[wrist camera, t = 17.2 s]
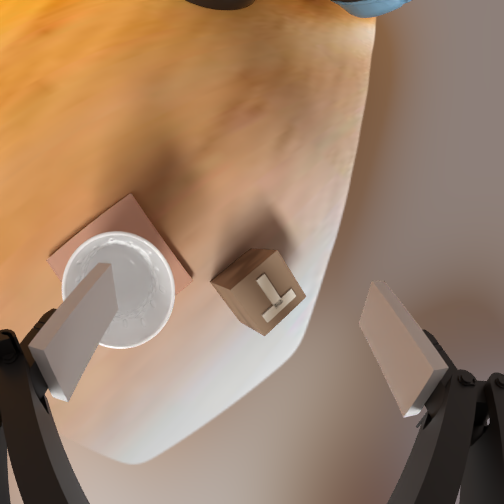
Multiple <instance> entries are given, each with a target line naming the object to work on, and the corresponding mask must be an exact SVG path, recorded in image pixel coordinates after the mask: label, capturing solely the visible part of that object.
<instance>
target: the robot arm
mask: <svg viewBox="0 0 504 504" xmlns="http://www.w3.org/2000/svg"><path fill="white" fill-rule="evenodd" d="M186 1H189V2H191V3H193V4H196V5H199V6H203V7H207V8H211V9H218V10H235V9H241V8H244V7H247V6H249V5H251V4H252V3H253V2H254V1H255V0H186ZM331 1H332V2H334V3H336V4H338V5H340V6H341V7H342V8H343V9H345V10H346V11H347V12H348V13H350V14H351V15H354V16H357V17H360V18H370V17H375V16H379V15H382V14H385V13H388V12H390V11H393V10H395V9H397V8H399V7H401V6H402V5H403V4H404V3H407V2H410V1H412V0H331ZM118 310H119V309H118V304H117V298H116V291H115V285H114V278H113V271H112V264H110V263H98V264H97V265H96V266H95V267H94V268H93V269H92V270H91V271H90V272H89V273H88V274H87V275H86V277H85V278H84V279H83V280H82V281H81V282H80V283H79V284H78V285H77V287H76V288H75V289H74V290H73V291H72V292H71V293H70V295H69V296H68V297H67V298H66V299H65V300H64V302H63V303H62V304H61V305H60V306H59V307H58V309H54V308H53V309H51V310H50V311H48V312H47V313H45V314H44V315H43V316H42V317H41V318H40V320H39V321H38V323H36V324H35V326H34V328H32V329H31V331H30V332H29V333H28V334H27V335H26V337H25V338H24V339H23V341H22V342H21V343H20V344H19V342H18V339H17V337H16V335H15V332H13V331H12V330H8V329H4V330H0V504H11V503H10V495H9V484H8V468H7V449H8V453H9V457H10V461H11V465H12V468H13V472H14V475H15V479H16V482H17V485H18V488H19V491H20V494H21V497H22V500H23V502H24V504H90V503H89V502H88V500H87V498H86V496H85V494H84V492H83V490H82V489H81V486H80V484H79V482H78V480H77V478H76V476H75V473H74V471H73V469H72V467H71V464H70V463H69V460H68V458H67V455H66V453H65V450H64V448H63V445H62V443H61V440H60V437H59V434H58V431H57V429H56V426H55V423H54V420H53V417H52V413H51V410H50V407H49V404H48V400H47V398H46V396H45V392H46V391H47V389H49V390H50V392H51V394H52V396H53V397H54V398H57V399H60V400H63V401H66V402H69V400H70V398H71V396H72V394H73V392H74V390H75V388H76V386H77V384H78V382H79V380H80V378H81V376H82V374H83V372H84V370H85V368H86V366H87V364H88V363H89V361H90V359H91V357H92V355H93V353H94V352H95V350H96V348H97V346H98V344H99V343H100V341H101V339H102V337H103V335H104V334H105V332H106V330H107V328H108V327H109V325H110V323H111V322H112V320H113V318H114V316H115V315H116V313H117V311H118ZM359 326H360V328H361V330H362V332H363V334H364V336H365V338H366V340H367V342H368V344H369V346H370V348H371V350H372V352H373V354H374V356H375V358H376V360H377V362H378V364H379V366H380V368H381V370H382V372H383V374H384V376H385V378H386V381H387V383H388V385H389V387H390V389H391V391H392V393H393V395H394V398H395V400H396V402H397V404H398V406H399V409H400V411H401V413H402V415H403V417H408V416H412V415H417V414H418V413H419V412H420V411H421V409H422V408H423V406H424V405H425V406H426V408H427V410H428V411H427V412H426V414H425V415H424V417H423V418H422V419H421V421H420V422H419V423H418V424H417V426H416V427H417V428H418V427H419V426H420V425H421V427H420V429H419V433H418V435H417V438H416V441H415V443H414V446H413V448H412V451H411V454H410V456H409V458H408V461H407V463H406V465H405V468H404V470H403V472H402V474H401V477H400V479H399V481H398V483H397V485H396V487H395V489H394V491H393V493H392V495H391V497H390V499H389V501H388V503H387V504H455V502H456V498H457V495H458V492H459V489H460V485H461V489H460V503H459V504H504V375H503V374H501V373H493V374H491V376H490V377H489V379H488V380H487V381H477V380H476V378H475V377H474V376H473V375H472V374H471V373H469V372H468V371H466V370H457V368H456V367H455V366H454V364H453V363H452V361H451V360H450V358H449V357H448V356H447V354H446V353H445V351H443V349H442V347H441V346H440V345H439V343H438V342H437V340H436V339H435V338H434V336H433V335H432V334H430V333H429V332H427V331H426V330H422V329H421V328H420V326H419V325H418V324H417V322H416V321H415V320H414V319H413V317H412V316H411V314H410V313H409V312H408V310H407V309H406V308H405V307H404V305H403V304H402V303H401V302H400V300H399V299H398V298H397V296H396V295H395V294H394V293H393V291H392V290H391V289H390V288H389V286H388V285H387V284H386V283H385V281H372V282H371V285H370V289H369V292H368V295H367V299H366V302H365V305H364V308H363V311H362V315H361V318H360V321H359ZM489 418H490V424H489V425H487V419H489Z"/></svg>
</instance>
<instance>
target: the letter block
mask: <svg viewBox="0 0 504 504" xmlns="http://www.w3.org/2000/svg"><path fill="white" fill-rule="evenodd" d="M211 284H212V285H213V286H214V288H215V289H216V290H217V292H218V293H219V294H220V296H221V297H222V298H223V300H224V301H225V302H226V304H227V305H228V306H229V308H230V309H231V310H232V312H233V313H234V314H235V316H236V317H237V318H238V320H239V321H240V322H241V323H243V324H245V325H246V326H248V327H250V328H252V329H253V330H255V331H257V332H258V333H260V334H262V335H264V336H265V335H266V334H268V333H269V332H270V331H271V330H272V329H273V328H274V327H275V326H276V325H277V324H278V323H279V322H280V321H281V320H282V319H284V318H285V317H286V316H287V315H288V314H289V313H290V312H291V311H292V310H293V309H294V308H295V307H296V306H297V305H298V304H299V303H300V302H301V301H302V300H303V299H304V298H305V297H306V295H305V294H304V292H303V290H302V289H301V287H300V286H299V284H298V282H297V281H296V279H295V277H294V276H293V274H292V273H291V271H290V269H289V268H288V266H287V265H286V263H285V261H284V260H283V258H282V256H281V255H280V253H279V252H278V250H268V249H250V250H249V251H247V252H246V253H245V254H244V255H242V256H241V257H240V258H239V259H238V260H236V261H235V262H234V263H233V264H231V265H230V266H229V267H228V268H226V269H225V270H224V271H223V272H222V273H220V274H219V275H218V276H217V277H215V278H214V279H213V280H212V281H211Z"/></svg>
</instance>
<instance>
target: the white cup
mask: <svg viewBox="0 0 504 504" xmlns="http://www.w3.org/2000/svg"><path fill="white" fill-rule="evenodd" d="M98 263H110V264H112V271H113V278H114V285H115V291H116V298H117V304H118V309H119V310H118V311H117V313H116V315H115V316H114V318H113V320H112V322H111V323H110V325H109V327H108V328H107V330H106V332H105V334H104V335H103V337H102V339H101V341H100V343H99V345H102V346H105V347H109V348H116V349H124V348H131V347H135V346H138V345H141V344H143V343H145V342H147V341H149V340H150V339H152V338H153V337H154V336H155V335H157V334H158V333H159V332H160V331H161V329H162V328H163V327H164V326H165V324H166V323H167V321H168V319H169V317H170V315H171V312H172V309H173V306H174V300H175V283H174V278H173V274H172V271H171V268H170V266H169V264H168V262H167V260H166V259H165V257H164V256H163V254H162V253H161V252H160V251H159V250H158V249H157V248H156V247H155V246H154V245H153V244H152V243H151V242H149V241H148V240H146V239H144V238H143V237H140V236H138V235H136V234H133V233H129V232H123V231H111V232H105V233H101V234H98V235H95V236H93V237H91V238H90V239H88V240H86V241H85V242H84V243H82V244H81V245H80V246H79V247H78V248H77V249H76V250H75V251H74V253H73V254H72V256H71V257H70V259H69V261H68V263H67V265H66V267H65V270H64V274H63V279H62V297H63V302H64V300H65V299H66V298H67V297H68V296H69V295H70V293H71V292H72V291H73V290H74V289H75V288H76V287H77V285H78V284H79V283H80V282H81V281H82V280H83V279H84V278H85V277H86V275H87V274H88V273H89V272H90V271H91V270H92V269H93V268H94V267H95V266H96V265H97V264H98Z"/></svg>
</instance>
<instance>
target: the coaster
mask: <svg viewBox="0 0 504 504" xmlns="http://www.w3.org/2000/svg"><path fill="white" fill-rule="evenodd" d="M111 231H123V232H129V233H133V234H136V235H138V236H140V237H143V238H144V239H146V240H148V241H149V242H151V243H152V244H153V245H154V246H155V247H156V248H157V249H158V250H159V251H160V252H161V253H162V254H163V256H164V257H165V259H166V260H167V262H168V264H169V266H170V268H171V271H172V274H173V278H174V283H175V295H177V294H178V293H179V292H180V291H181V290H183V289H184V288H185V287H186V286H188V285H189V284H190V283H191V282H192V281H193V280H192V278H191V277H190V276H189V274H188V273H187V272H186V270H185V269H184V268H183V266H182V265H181V264H180V262H179V261H178V259H177V258H176V257H175V255H174V254H173V253H172V251H171V250H170V248H169V247H168V246H167V244H166V243H165V241H164V240H163V239H162V237H161V236H160V234H159V233H158V232H157V230H156V229H155V227H154V226H153V224H152V223H151V221H150V220H149V219H148V217H147V216H146V214H145V213H144V211H143V210H142V208H141V207H140V205H139V204H138V202H137V201H136V199H135V198H134V196H133V195H132V193H130V194H129V195H127V196H126V197H125V198H123V199H122V200H120V201H119V202H118V203H116V204H115V205H114V206H112V207H111V208H110V209H108V210H107V211H106V212H104V213H103V214H102V215H100V216H99V217H98V218H96V219H95V220H94V221H93V222H91V223H90V224H89V225H87V226H86V227H85V228H84V229H83V230H81V231H80V232H79V233H78V234H76V235H75V236H74V237H73V238H72V239H70V240H69V241H68V242H67V243H66V244H64V245H63V246H62V247H61V248H60V249H59V250H57V251H56V252H55V253H54V254H53V255H52V256H51V257H49V258H48V259H47V260H46V261H47V262H48V264H49V265H50V267H51V268H52V269H53V271H54V272H55V274H56V275H57V277H58V278H59V279H60V281H61V282H62V279H63V274H64V270H65V267H66V265H67V263H68V261H69V259H70V257H71V256H72V254H73V253H74V251H75V250H76V249H77V248H78V247H79V246H80V245H81V244H82V243H84V242H85V241H86V240H88V239H90V238H91V237H93V236H95V235H98V234H101V233H105V232H111Z"/></svg>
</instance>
